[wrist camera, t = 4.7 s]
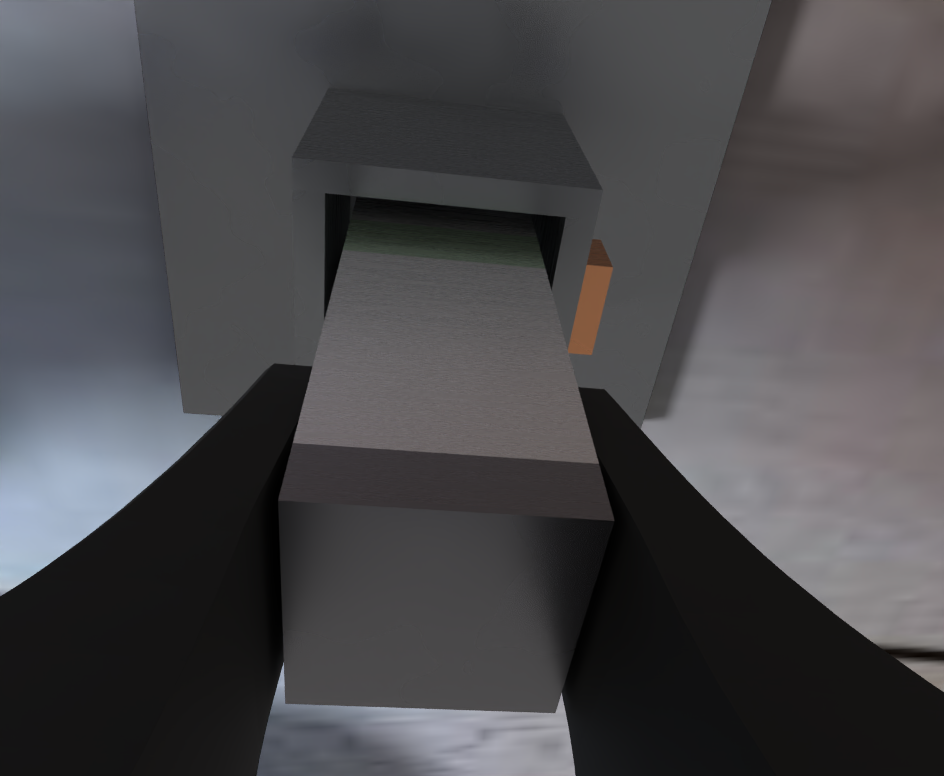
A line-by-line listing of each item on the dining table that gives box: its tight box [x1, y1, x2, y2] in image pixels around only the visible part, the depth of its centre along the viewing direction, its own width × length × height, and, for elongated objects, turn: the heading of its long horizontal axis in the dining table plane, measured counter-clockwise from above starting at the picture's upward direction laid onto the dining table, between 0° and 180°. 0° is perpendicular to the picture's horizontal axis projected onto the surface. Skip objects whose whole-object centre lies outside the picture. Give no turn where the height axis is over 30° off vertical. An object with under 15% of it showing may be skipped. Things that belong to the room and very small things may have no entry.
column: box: [278, 196, 614, 713], centre depth 11 cm, size 3×3×8 cm
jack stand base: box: [134, 0, 772, 429], centre depth 15 cm, size 12×12×6 cm
